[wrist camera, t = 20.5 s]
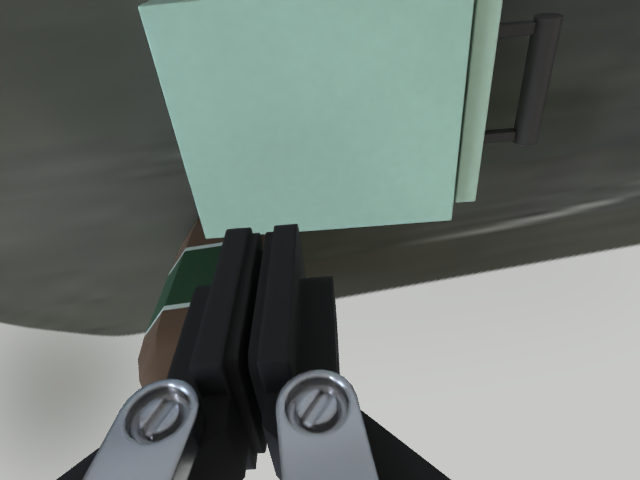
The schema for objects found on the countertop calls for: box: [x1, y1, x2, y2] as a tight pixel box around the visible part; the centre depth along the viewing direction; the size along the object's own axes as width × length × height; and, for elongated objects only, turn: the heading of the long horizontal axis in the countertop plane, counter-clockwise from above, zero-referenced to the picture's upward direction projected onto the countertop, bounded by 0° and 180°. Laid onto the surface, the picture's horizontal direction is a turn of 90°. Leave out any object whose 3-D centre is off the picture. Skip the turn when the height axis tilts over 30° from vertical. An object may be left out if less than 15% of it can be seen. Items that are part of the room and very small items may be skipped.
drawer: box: [454, 0, 563, 202], centre depth 27 cm, size 18×11×8 cm, turn 95°
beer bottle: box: [138, 218, 265, 387], centre depth 30 cm, size 8×8×24 cm
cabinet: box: [138, 0, 474, 239], centre depth 27 cm, size 15×13×10 cm
